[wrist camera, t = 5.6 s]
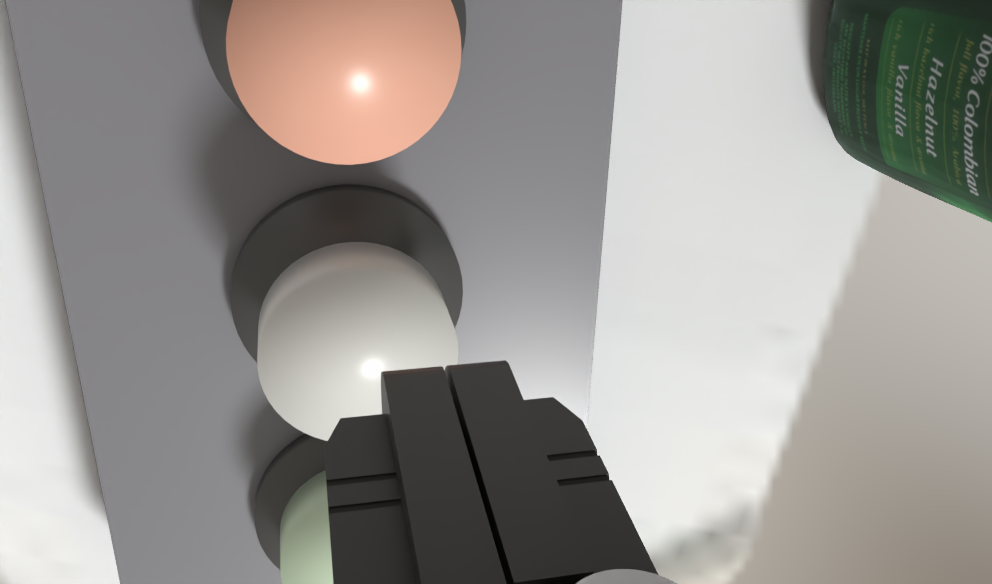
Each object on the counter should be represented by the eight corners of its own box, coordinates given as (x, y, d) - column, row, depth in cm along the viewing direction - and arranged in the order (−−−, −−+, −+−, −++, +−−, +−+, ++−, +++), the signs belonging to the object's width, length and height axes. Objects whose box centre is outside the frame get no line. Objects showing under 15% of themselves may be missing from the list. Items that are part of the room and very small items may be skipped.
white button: (250, 247, 21) (248, 276, 20) (447, 236, 22) (459, 262, 21) (266, 416, 23) (265, 453, 22) (446, 399, 24) (457, 433, 23)
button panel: (12, -156, 21) (-32, -155, 18) (593, -140, 24) (641, -137, 21) (140, 555, 30) (125, 635, 27) (551, 505, 33) (579, 573, 30)
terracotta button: (218, -81, 18) (214, -74, 17) (449, -77, 19) (463, -71, 18) (240, 146, 20) (237, 169, 19) (447, 139, 21) (460, 159, 20)
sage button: (273, 469, 25) (273, 506, 24) (440, 451, 26) (450, 486, 25) (285, 597, 27) (286, 638, 26) (440, 576, 28) (449, 615, 27)
